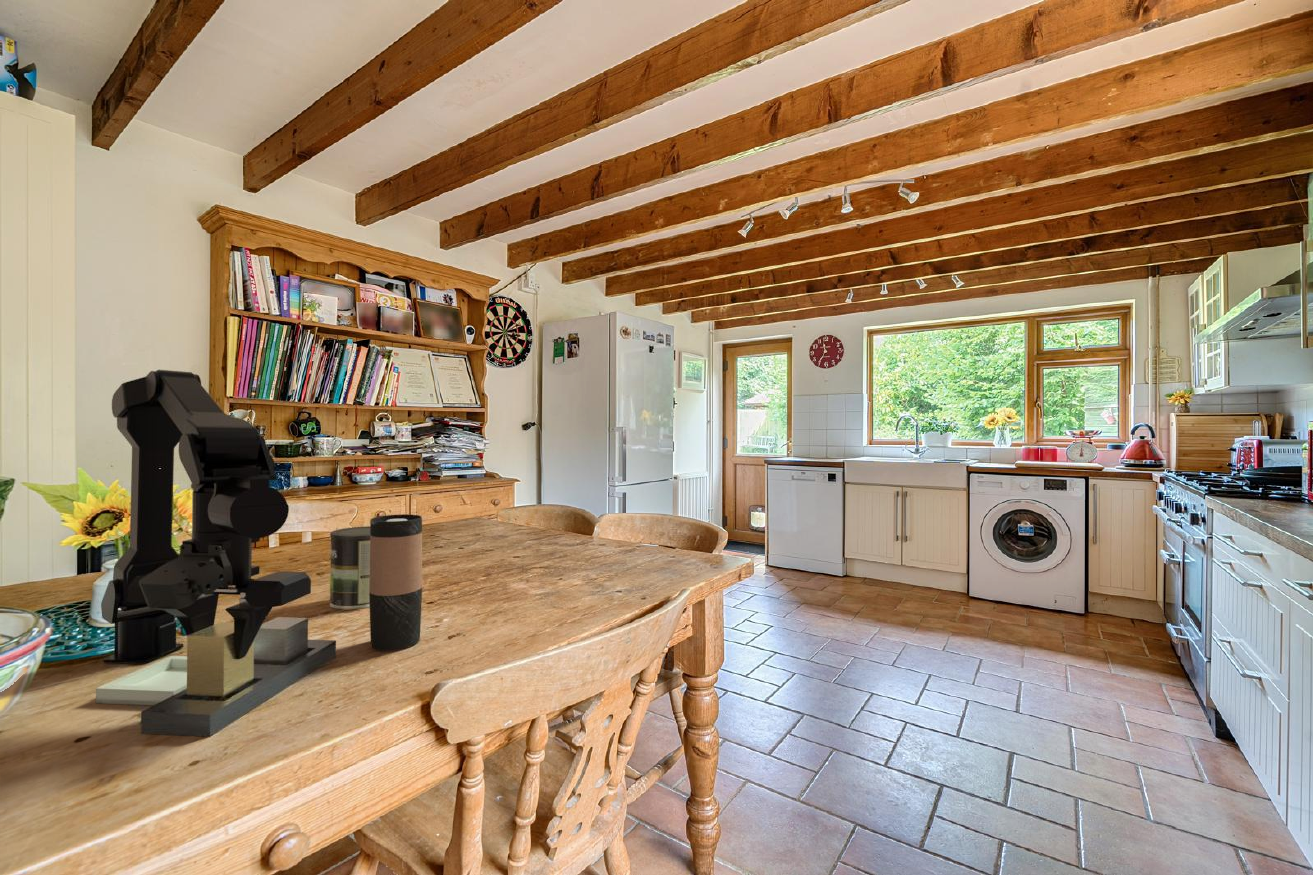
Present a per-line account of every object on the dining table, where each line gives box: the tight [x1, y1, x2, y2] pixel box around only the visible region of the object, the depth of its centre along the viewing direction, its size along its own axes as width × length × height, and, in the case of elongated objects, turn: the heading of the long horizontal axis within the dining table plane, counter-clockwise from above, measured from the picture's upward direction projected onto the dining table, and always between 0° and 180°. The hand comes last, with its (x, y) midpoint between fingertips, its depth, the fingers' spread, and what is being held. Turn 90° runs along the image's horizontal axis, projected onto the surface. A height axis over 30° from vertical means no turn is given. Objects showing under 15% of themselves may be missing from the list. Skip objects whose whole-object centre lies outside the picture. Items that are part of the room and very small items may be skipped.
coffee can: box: [329, 525, 370, 611], centre depth 110 cm, size 10×10×14 cm
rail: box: [140, 639, 337, 738], centre depth 72 cm, size 8×22×2 cm, turn 177°
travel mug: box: [369, 513, 423, 652], centre depth 89 cm, size 8×8×20 cm
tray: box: [95, 655, 187, 706], centre depth 73 cm, size 10×10×2 cm
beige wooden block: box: [186, 621, 254, 698], centre depth 67 cm, size 4×4×7 cm
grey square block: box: [254, 616, 309, 665], centre depth 77 cm, size 4×4×7 cm
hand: (221, 657), depth 67 cm, fingers closed on beige wooden block, 4 cm apart
